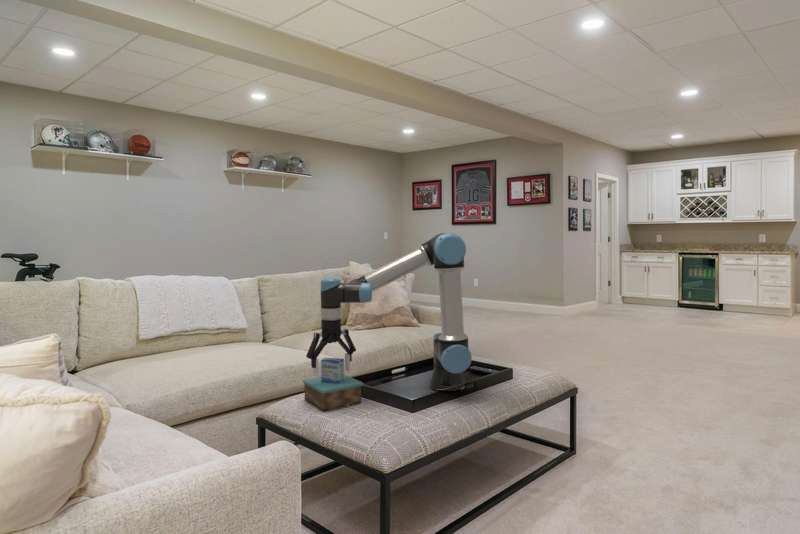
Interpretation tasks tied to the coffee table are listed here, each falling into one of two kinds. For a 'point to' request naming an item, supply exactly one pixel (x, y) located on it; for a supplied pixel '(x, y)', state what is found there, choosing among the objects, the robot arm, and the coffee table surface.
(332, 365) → the medicine box
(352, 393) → the crate
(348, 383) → the lid
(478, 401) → the coffee table surface
